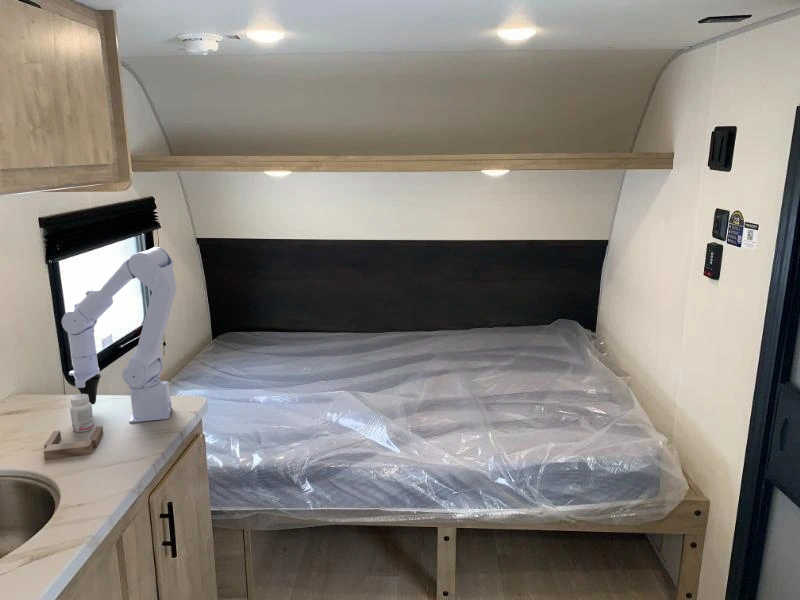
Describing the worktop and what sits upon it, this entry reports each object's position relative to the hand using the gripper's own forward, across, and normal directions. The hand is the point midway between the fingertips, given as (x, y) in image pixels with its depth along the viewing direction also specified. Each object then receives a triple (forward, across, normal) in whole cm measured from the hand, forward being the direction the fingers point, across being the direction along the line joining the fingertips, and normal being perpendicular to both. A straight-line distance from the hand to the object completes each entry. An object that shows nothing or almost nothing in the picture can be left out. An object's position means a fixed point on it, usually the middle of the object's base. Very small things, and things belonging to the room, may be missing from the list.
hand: (90, 403), depth 160 cm
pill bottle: (+3, +9, 0) cm, 9 cm away
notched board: (+3, +18, 0) cm, 19 cm away
